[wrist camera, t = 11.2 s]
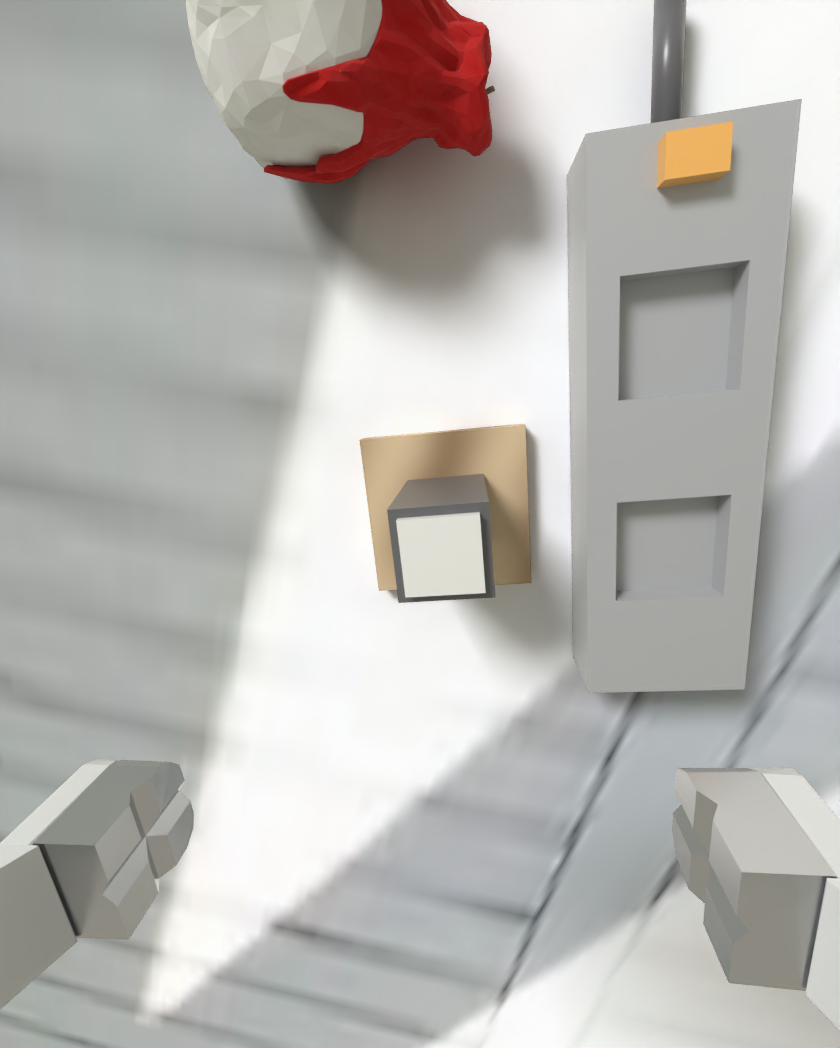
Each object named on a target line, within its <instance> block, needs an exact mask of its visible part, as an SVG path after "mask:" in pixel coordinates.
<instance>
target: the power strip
mask: <svg viewBox="0 0 840 1048" xmlns="http://www.w3.org/2000/svg"><path fill="white" fill-rule="evenodd" d="M685 21H686V0H654V22H653V59H652V96H651V123H650V124H643V125H637V126H631V127H625V128H619V129H612V130H606V131H600V132H594V133H588V134H586V135H585V137H584V139H583V141H582V143H581V146H580V148H579V150H578V152H577V154H576V157H575V159H574V161H573V163H572V165H571V168H570V170H569V172H568V174H567V217H568V297H569V377H570V457H571V536H572V616H573V658H574V660H575V663H576V665H577V668H578V670H579V673H580V675H581V677H582V680H583V682H584V685H585V687H586V690H587V692H588V693H609V692H652V691H696V690H739V689H745V681H746V670H747V660H748V650H749V639H750V629H751V618H752V608H753V598H754V587H755V577H756V567H757V556H758V546H759V536H760V525H761V515H762V504H763V494H764V484H765V473H766V463H767V453H768V442H769V432H770V421H771V411H772V401H773V390H774V380H775V370H776V359H777V349H778V338H779V328H780V318H781V307H782V297H783V287H784V276H785V266H786V256H787V245H788V235H789V224H790V214H791V204H792V193H793V183H794V173H795V162H796V152H797V141H798V131H799V121H800V110H801V100H802V99H798V100H792V101H786V102H780V103H774V104H767V105H761V106H755V107H749V108H743V109H736V110H730V111H724V112H718V113H712V114H705V115H699V116H693V117H687V118H682V94H683V70H684V45H685Z"/></svg>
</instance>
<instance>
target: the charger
mask: <svg viewBox="0 0 840 1048" xmlns="http://www.w3.org/2000/svg"><path fill="white" fill-rule="evenodd" d="M387 514H388V522H389V530H390V538H391V546H392V554H393V562H394V570H395V578H396V586H397V594H398V602H399V603H402V602H420V601H438V600H456V599H474V598H492V597H495V585H494V570H493V556H492V541H491V526H490V511H489V500H488V495H487V490H486V485H485V480H484V476H483V474H473V475H462V476H450V477H439V478H427V479H416V480H407V482H406V483H405V485H404V486H403V488H402V489H401V490H400V492H399V493H398V495H397V496H396V498H395V499H394V500H393V502H392V503H391V505H390V506H389V508H388V509H387Z"/></svg>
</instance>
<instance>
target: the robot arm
mask: <svg viewBox="0 0 840 1048" xmlns="http://www.w3.org/2000/svg"><path fill="white" fill-rule="evenodd" d="M183 782H184V777H183V774H182V771H181V769H180V766H179V765H178V764H175V763H172V762H157V761H133V760H120V761H116V760H93V761H91V762H89V763H86V764H84V765H83V766H82V767H80V768H79V769H78V770H77V771H76V772H75V773H74V774H73V775H72V776H71V777H70V778H69V779H68V780H67V781H66V782H65V783H63V784H62V785H61V786H60V787H59V788H58V789H57V790H56V791H55V792H54V793H53V794H52V795H51V796H50V797H49V798H48V799H47V800H45V801H44V802H43V803H42V804H41V805H40V806H39V807H38V808H37V809H36V810H35V811H34V812H33V813H32V814H31V815H30V816H29V817H27V818H26V819H25V820H24V821H23V822H22V823H21V824H20V825H19V826H18V827H17V828H16V829H15V830H14V831H13V832H12V833H11V834H9V835H8V836H7V837H6V838H5V839H4V840H3V841H2V842H1V843H0V1009H1V1008H3V1007H4V1006H5V1005H6V1004H7V1003H8V1002H9V1001H10V1000H12V999H13V998H14V997H15V996H16V995H17V994H18V993H20V992H21V991H22V990H23V989H24V988H25V987H26V986H27V985H29V984H30V983H31V982H32V981H33V980H34V979H35V978H37V977H38V976H39V975H40V974H41V973H42V972H43V971H45V970H46V969H47V968H48V967H49V966H50V965H51V964H52V963H54V962H55V961H56V960H57V959H58V958H59V957H60V956H62V955H63V954H64V953H65V952H66V951H67V950H68V949H70V948H71V947H72V946H73V945H74V944H75V943H76V942H77V938H95V939H125V940H129V939H130V937H131V936H132V934H133V933H134V931H135V930H136V928H137V926H138V925H139V923H140V922H141V920H142V919H143V917H144V915H145V914H146V912H147V911H148V909H149V908H150V906H151V904H152V903H153V901H154V900H155V898H156V897H157V895H158V893H159V878H160V877H162V876H163V875H164V874H166V873H167V872H168V871H169V870H171V869H172V868H173V867H175V866H176V865H177V863H178V862H179V860H180V858H181V857H182V855H183V853H184V852H185V850H186V848H187V846H188V843H189V840H190V837H191V833H192V830H193V818H194V813H193V809H192V805H191V801H190V800H189V799H188V798H187V797H186V796H185V795H184V794H183V793H182V792H181V791H180V788H181V786H182V784H183ZM674 790H675V792H676V794H677V796H678V798H679V800H680V802H681V805H680V806H679V807H678V808H677V809H676V810H675V812H674V813H673V823H672V833H673V839H674V845H675V852H676V855H677V859H678V862H679V865H680V868H681V871H682V874H683V876H684V879H685V881H686V883H687V886H688V888H689V890H691V891H692V892H693V893H694V894H695V895H696V896H697V897H698V898H699V899H700V900H702V901H703V902H704V903H705V910H704V923H703V924H704V926H705V928H706V931H707V933H708V935H709V938H710V940H711V942H712V945H713V947H714V949H715V952H716V954H717V956H718V959H719V961H720V963H721V966H722V968H723V970H724V973H725V975H726V977H727V980H728V982H729V983H735V984H745V985H755V986H765V987H774V988H784V989H794V990H803V991H806V993H805V995H806V996H807V997H808V999H809V1000H810V1001H811V1002H812V1003H813V1004H814V1005H815V1006H816V1007H817V1008H818V1009H819V1010H820V1011H821V1012H822V1013H823V1014H824V1015H825V1016H826V1017H827V1018H828V1019H829V1020H830V1021H831V1022H832V1023H833V1024H834V1025H835V1027H836V1028H837V1029H838V1030H839V1031H840V820H839V819H838V818H837V816H836V815H835V814H834V813H833V812H832V811H831V809H830V808H829V807H828V806H827V805H826V803H825V802H824V801H823V800H822V799H821V798H820V796H819V795H818V794H817V793H816V792H815V791H814V789H813V788H812V787H811V786H810V785H809V784H808V782H807V781H806V780H805V779H804V778H803V776H802V775H801V774H800V773H798V772H797V771H795V770H793V769H792V768H752V769H748V768H679V769H678V771H677V773H676V775H675V785H674Z"/></svg>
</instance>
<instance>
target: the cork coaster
mask: <svg viewBox="0 0 840 1048" xmlns="http://www.w3.org/2000/svg"><path fill="white" fill-rule="evenodd" d="M360 447H361V454H362V462H363V470H364V478H365V486H366V493H367V501H368V509H369V517H370V525H371V532H372V540H373V548H374V556H375V564H376V571H377V579H378V587H379V591H382V590H397V586H396V578H395V570H394V562H393V554H392V546H391V538H390V530H389V522H388V514H387V509H388V508H389V506H390V505H391V503H392V502H393V500H394V499H395V498H396V496H397V495H398V493H399V492H400V490H401V489H402V488H403V486H404V485H405V483H406V482H407V480H416V479H427V478H439V477H450V476H462V475H473V474H483V476H484V480H485V485H486V490H487V495H488V500H489V511H490V526H491V541H492V556H493V570H494V585H500V584H520V583H531V562H530V535H529V508H528V480H527V453H526V426H525V424H516V425H505V426H494V427H483V428H472V429H461V430H450V431H439V432H428V433H417V434H406V435H395V436H384V437H373V438H363V439H361V440H360Z"/></svg>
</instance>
